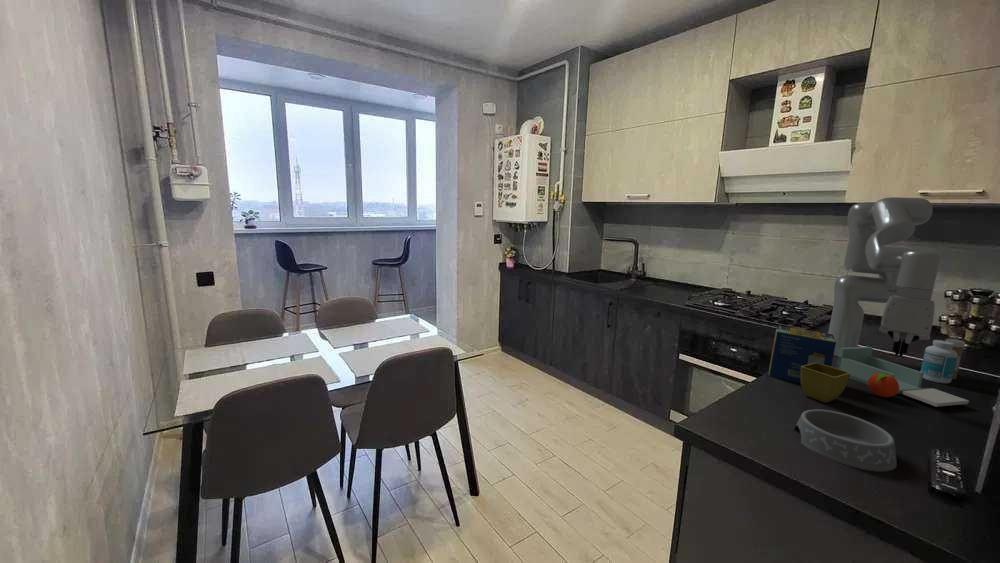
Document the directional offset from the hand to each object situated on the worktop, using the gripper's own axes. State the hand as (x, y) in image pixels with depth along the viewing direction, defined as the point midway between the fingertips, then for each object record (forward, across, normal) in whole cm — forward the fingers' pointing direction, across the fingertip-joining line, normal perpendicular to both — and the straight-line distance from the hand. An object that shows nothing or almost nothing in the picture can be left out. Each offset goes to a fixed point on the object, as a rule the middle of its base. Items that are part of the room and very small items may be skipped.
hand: (898, 354), depth 117 cm
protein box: (+14, -22, -5) cm, 26 cm away
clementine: (+14, -2, -1) cm, 14 cm away
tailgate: (+12, +5, +9) cm, 16 cm away
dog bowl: (+14, -6, -47) cm, 50 cm away
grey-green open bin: (+13, -3, +14) cm, 20 cm away
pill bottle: (+14, +10, +35) cm, 39 cm away
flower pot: (+14, -14, -19) cm, 27 cm away
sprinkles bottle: (+13, +13, +43) cm, 47 cm away
